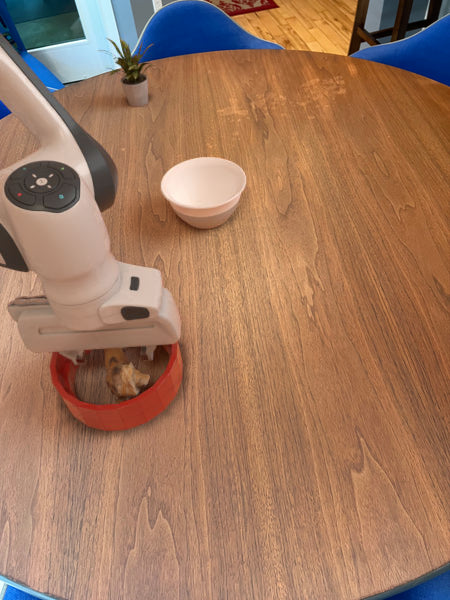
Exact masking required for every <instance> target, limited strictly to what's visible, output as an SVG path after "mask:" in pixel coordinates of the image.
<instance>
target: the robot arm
mask: <svg viewBox="0 0 450 600" xmlns="http://www.w3.org/2000/svg"><path fill="white" fill-rule="evenodd" d="M0 101H1V102H2V104H3V105H4V106H6V108H7V109H8V110H9V111H10V112H11V114H13V116H14V118H16V119H17V120H18V122H20V124H22V126H24V127H25V129H26V130H27V131H28V132H29V133H30V134H31V135H32V137H33V138H34V139H35V140H36V141H37V143H38V144H39V148H38V149H37V150H35V151H33V152H32V153H30V154H28V155H26V156H25V157H22V158H21V159H19V160H18V161H16V162H14V163H12V164H10V165H8V166H7V167H4V168H1V169H0V267H1V268H4V269H8V270H11V271H16V272H20V273H29V272H33V273H34V274H36V276H37V277H38V279H39V280H40V284H41V289H42V292H43V294H37V295H33V296H25V295H23V296H16V297H15V298H14V300H11V301H10V302H8V304H7V307H6V308H7V309H6V310H7V312H8V314H9V316H10V317H11V319H12V320H13V321H14V322H16V324H17V326H16V327H17V330H18V333H19V335H20V338H21V341H22V342H23V345H24V346H25V348H26V349H27V350H28V351H30V352H32V353H35V354H47V353H53V352H59V354H61V355H63V356H65V357H67V358H69V359H72V361H73V363H74V365H80V366H82V365H86V364H87V360H88V355H87V353H86V352H85V350H92V349H93V350H103V349H107V348H122V347H128V348H137V347H140V351H139V354H140V355H139V357H140V358H141V361H142V362H144V361H153V360H154V351H155V350H156V348H157V346H161V345H167V344H175V343H176V342H177V341H178V342H179V341H180V339H181V336H182V335H181V334H182V321H181V316H180V311H179V309H178V305H177V303H176V300H175V298H174V296H173V294H172V293H171V292H170V290H169V289H167V288H166V287H164V286H163V285H164V284H163V277H162V272H161V271H160V269H157V268H154V267H148V266H141V265H137V264H131V263H127V262H123V261H119V260H117V259H116V257H115V256H114V255H113V253H112V252H111V238H110V236H109V235H110V234H109V232H108V229H107V226H106V223H105V220H104V218H103V215H102V213H103V212H106V211H107V210H109V209H111V208H112V207H113V206H114V204H115V201H116V198H117V193H118V187H119V172H118V168H117V165H116V162H115V161H114V160H113V158H112V157H111V155H110V153H109V152H108V151H107V150H106V149H105V147H103V146H102V145H101V143H100V142H99V141H97V140H96V139H95V138H94V137H93V136H92V135H91V134H90V133H89V132H87V131H86V129H84V128H83V127H82V126H81V125H80V124H79V123H78V122H77V121H76V119H75V118H73V116H72V115H71V113H69V112H68V110H67V109H66V108H65V107H64V106H63V105H62V103H61V102H60V101H59V100H58V99H57V98H56V96H55V95H54V94H53V93H52V91H51V90H49V88H48V87H47V86H46V85H45V84H44V82H43V80H42V79H40V77H39V76H38V75H37V74H36V73H35V71H34V70H33V69H32V68H31V67H30V66H29V64H28V63H27V62H26V60H25V59H24V58H23V57H22V55H20V53H19V52H18V51H17V50H16V49H15V47H13V46H12V45H11V43H10V42H9V41H8V40H7V38H5V36H3V34H2V33H1V32H0ZM93 350H92V351H93Z"/></svg>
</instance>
